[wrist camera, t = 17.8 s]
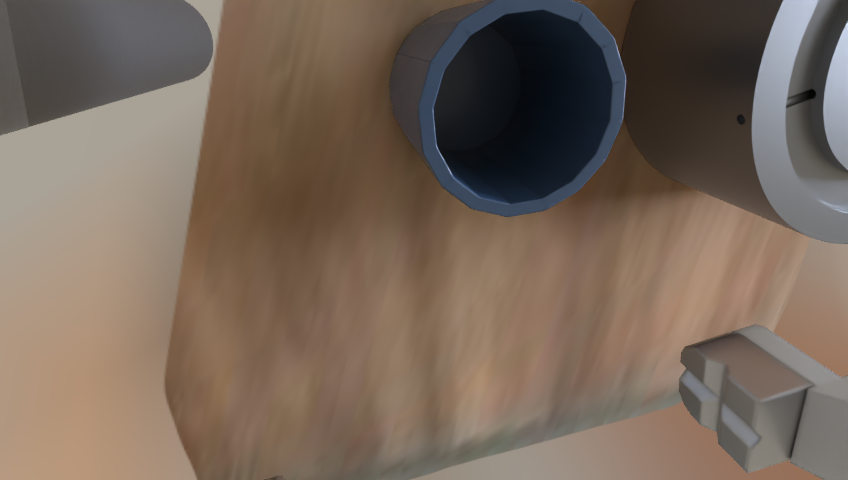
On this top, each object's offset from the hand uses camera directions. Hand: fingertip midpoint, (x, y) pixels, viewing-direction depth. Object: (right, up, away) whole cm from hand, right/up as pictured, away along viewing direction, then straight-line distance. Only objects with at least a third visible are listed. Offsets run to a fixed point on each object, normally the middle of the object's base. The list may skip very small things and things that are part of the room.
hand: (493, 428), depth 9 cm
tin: (+1, +16, +26) cm, 31 cm away
